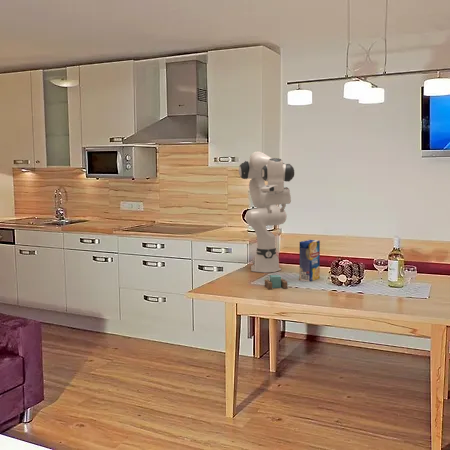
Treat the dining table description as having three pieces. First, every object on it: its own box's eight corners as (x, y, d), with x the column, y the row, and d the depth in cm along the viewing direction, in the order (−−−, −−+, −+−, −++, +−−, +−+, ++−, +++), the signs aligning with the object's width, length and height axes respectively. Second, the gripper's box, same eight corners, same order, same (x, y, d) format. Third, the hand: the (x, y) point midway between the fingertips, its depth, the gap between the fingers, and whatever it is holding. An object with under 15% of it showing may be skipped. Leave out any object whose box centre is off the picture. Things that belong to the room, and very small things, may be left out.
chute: (264, 286, 313) (264, 279, 312) (283, 285, 314) (282, 278, 314) (268, 289, 304) (268, 283, 303) (287, 288, 306) (287, 282, 305)
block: (269, 286, 312) (269, 275, 311) (278, 285, 313) (278, 274, 312) (272, 288, 307) (272, 277, 307) (281, 287, 308) (281, 276, 307)
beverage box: (319, 278, 330) (319, 240, 328) (309, 281, 322) (309, 242, 319) (309, 276, 335) (309, 239, 332) (299, 280, 326) (299, 241, 324)
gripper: (285, 186, 325) (285, 211, 326) (258, 188, 313) (258, 213, 314) (293, 187, 320) (293, 211, 322) (265, 188, 308) (266, 214, 309)
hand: (275, 212), depth 318 cm, fingers open, 8 cm apart
